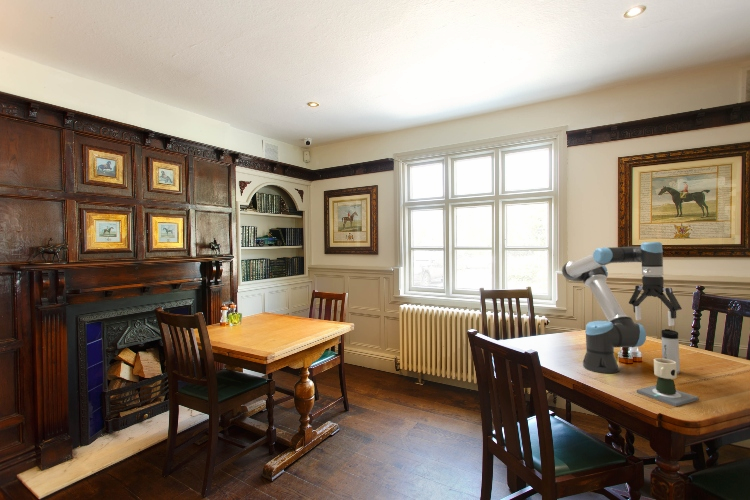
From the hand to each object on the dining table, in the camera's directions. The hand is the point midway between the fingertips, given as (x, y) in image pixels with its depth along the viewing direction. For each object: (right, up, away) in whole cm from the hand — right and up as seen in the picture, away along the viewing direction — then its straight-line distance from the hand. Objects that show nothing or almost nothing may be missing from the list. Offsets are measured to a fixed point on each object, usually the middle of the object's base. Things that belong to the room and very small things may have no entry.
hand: (654, 322), depth 154 cm
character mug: (-8, -26, -15) cm, 31 cm away
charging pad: (-7, -27, -15) cm, 32 cm away
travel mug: (+17, -26, +11) cm, 33 cm away
